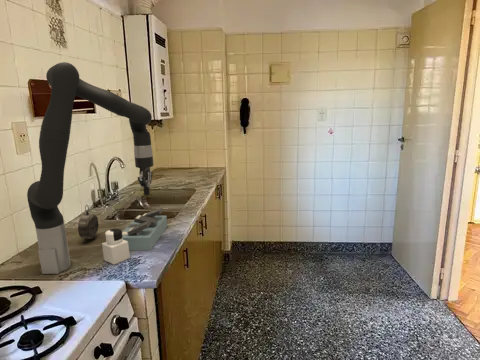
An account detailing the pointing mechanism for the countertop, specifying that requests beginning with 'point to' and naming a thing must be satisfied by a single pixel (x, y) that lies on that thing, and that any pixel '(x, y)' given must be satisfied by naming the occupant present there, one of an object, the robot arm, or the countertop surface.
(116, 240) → the medicine bottle
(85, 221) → the alarm clock
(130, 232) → the switch
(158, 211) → the switch
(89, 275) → the countertop surface
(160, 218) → the switch box
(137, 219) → the switch
